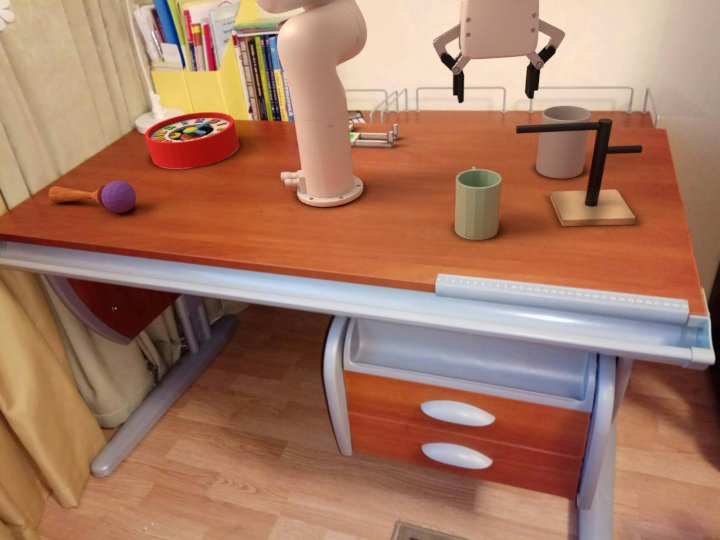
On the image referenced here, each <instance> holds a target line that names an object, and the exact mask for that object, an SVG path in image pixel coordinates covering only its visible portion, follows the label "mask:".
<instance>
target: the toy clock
mask: <svg viewBox="0 0 720 540" xmlns="http://www.w3.org/2000/svg"><path fill="white" fill-rule="evenodd" d="M237 133H238V132H237V128H236V125H235V119H234V117H233V116H231V115H230V114H227V113H225V112H224V113H223V112H218V111H216V112H215V111H202V112H193V113H192V112H191V113H185V114H182V115H177V116H173V117H170V118H167V119H165V120H161V121H159V122H157V123H155V124H153V125H151V126H150V127H149V128H147V129H146V131H145V133H144V137H145V140H146V144H147V147H148V151H149V154H150V157H151V160H152V162H153V164H155V165H156V166H158V167H159V168H163V169H170V170H184V169H193V168H200V167H204V166H208V165H211V164H216V163H217V162H220V161H223V160H225V159H227V158H228V157H230V156H232V155H233V154H234V153H236V152H237V151H238V149H239V147H240V141H239V138H238V134H237Z"/></svg>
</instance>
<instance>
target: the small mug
mask: <svg viewBox="0 0 720 540" xmlns="http://www.w3.org/2000/svg"><path fill="white" fill-rule="evenodd" d="M454 181H455V183H454V185H455V186H454V190H455V191H454V232H455V233H456V235H458V236H459V237H461V238H463V239H466V240H470V241H483V240H487V239H491V238H493V237H494V236H496V235H497V233H498V232H499V228H500V227H499V226H500V215H501V214H500V213H501V200H502V199H501V198H502V188H503V187H502V185H503V178H502V176H501V174H499V173H498V172H496V171H493V170H490V169H484V168H477V166H475V165H474V166H472V167H471V168H470V169H467V170H463V171H461V172H459V173H458V174H457V175H456V176H455V180H454Z"/></svg>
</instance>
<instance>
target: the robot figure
mask: <svg viewBox="0 0 720 540" xmlns="http://www.w3.org/2000/svg"><path fill="white" fill-rule="evenodd" d="M349 130H350V140H351V147H353V148H354V147H356V148H357V147H358V148H387V149H388V148H389V149H393V148H394V146H395V144H394V143H395V142H394V141H398V139H399V127H398V123H394V124H393V123H392V124H391V131H389V130H388V131H387V132H385V133H384V132H353V131H354V130H355V125H354V123H349Z"/></svg>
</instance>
